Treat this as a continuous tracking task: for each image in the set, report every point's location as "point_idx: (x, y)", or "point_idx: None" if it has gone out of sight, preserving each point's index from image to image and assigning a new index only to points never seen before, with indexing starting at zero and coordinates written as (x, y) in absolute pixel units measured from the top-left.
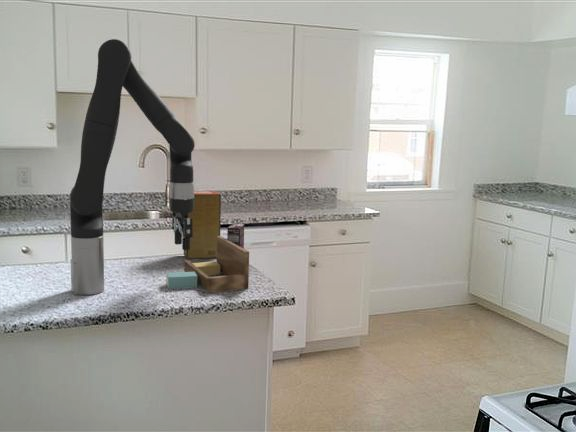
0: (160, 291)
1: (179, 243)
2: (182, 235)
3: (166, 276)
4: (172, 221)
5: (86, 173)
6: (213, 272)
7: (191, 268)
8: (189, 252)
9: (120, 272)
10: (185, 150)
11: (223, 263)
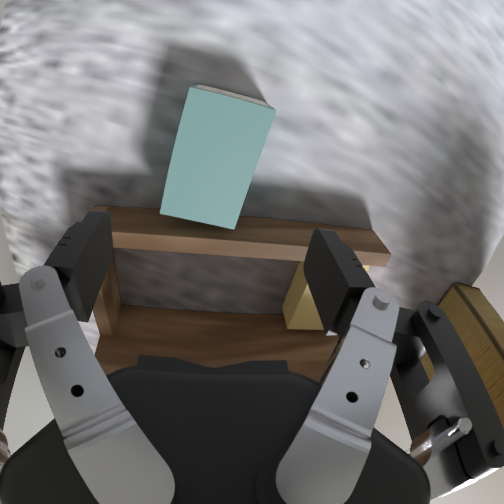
0: (175, 44)
1: (308, 257)
2: (41, 288)
3: (266, 104)
4: (467, 366)
5: None
6: (289, 296)
7: (304, 241)
8: (458, 299)
9: (475, 60)
10: None
11: (285, 340)
